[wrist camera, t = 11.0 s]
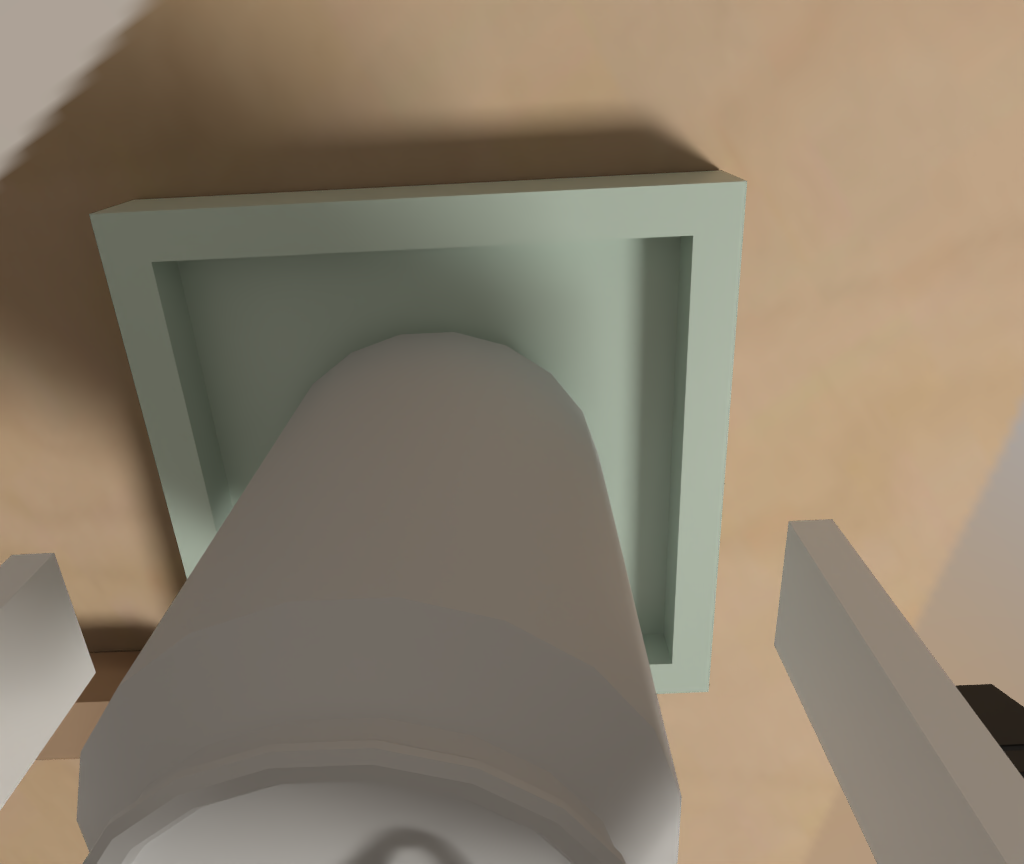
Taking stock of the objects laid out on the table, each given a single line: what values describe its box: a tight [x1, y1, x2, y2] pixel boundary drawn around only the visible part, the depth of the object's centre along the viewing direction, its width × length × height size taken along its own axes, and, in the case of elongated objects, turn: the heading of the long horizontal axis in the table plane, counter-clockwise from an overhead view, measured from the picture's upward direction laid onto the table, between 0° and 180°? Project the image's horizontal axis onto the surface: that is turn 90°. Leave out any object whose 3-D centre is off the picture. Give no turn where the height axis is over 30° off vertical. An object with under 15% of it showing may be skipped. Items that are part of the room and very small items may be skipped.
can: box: [77, 332, 681, 864], centre depth 14 cm, size 8×8×12 cm
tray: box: [89, 170, 747, 694], centre depth 19 cm, size 13×13×2 cm
